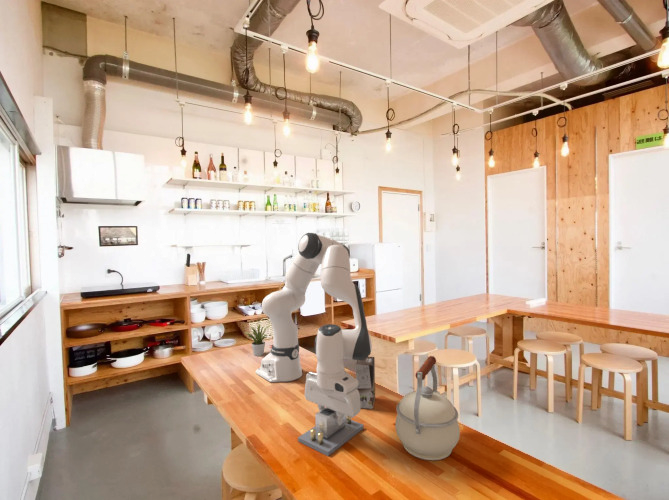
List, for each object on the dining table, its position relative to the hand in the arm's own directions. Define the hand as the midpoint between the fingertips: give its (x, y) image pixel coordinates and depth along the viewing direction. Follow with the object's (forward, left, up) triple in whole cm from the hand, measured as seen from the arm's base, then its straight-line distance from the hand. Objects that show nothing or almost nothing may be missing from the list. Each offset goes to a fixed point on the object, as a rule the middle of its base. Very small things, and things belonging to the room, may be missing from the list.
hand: (331, 420), depth 110 cm
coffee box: (-3, +24, -5) cm, 25 cm away
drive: (0, 0, -2) cm, 2 cm away
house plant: (-79, +36, -5) cm, 87 cm away
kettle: (+26, +14, -5) cm, 30 cm away
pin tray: (0, 0, -4) cm, 4 cm away
